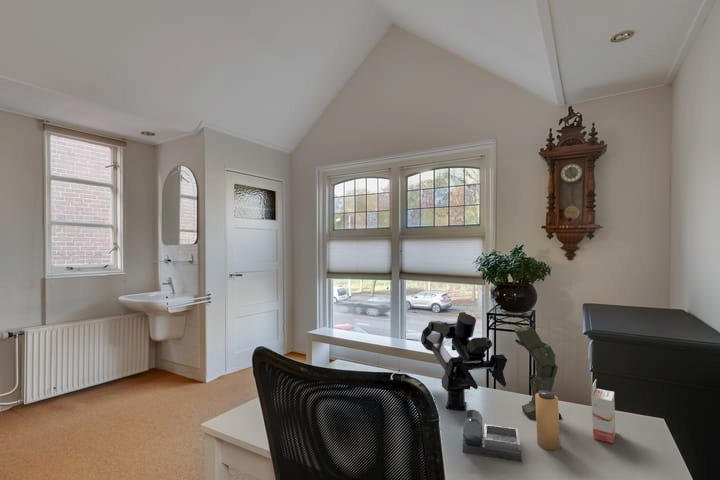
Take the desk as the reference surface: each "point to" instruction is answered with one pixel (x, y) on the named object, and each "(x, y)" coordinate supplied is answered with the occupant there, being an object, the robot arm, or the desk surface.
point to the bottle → (547, 420)
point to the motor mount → (490, 439)
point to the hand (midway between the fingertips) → (491, 386)
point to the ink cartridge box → (603, 414)
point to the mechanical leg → (537, 365)
